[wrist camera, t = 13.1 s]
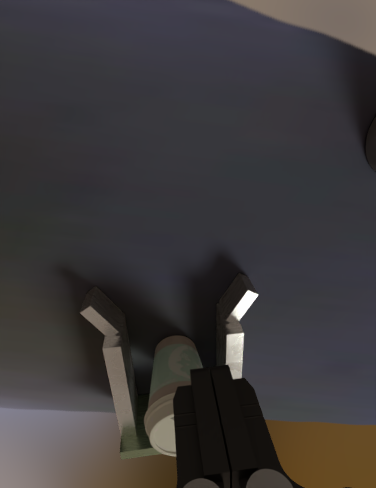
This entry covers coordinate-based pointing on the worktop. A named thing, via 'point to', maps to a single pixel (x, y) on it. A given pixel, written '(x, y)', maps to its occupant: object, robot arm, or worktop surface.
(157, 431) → the coffee cup
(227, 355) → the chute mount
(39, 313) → the worktop surface
